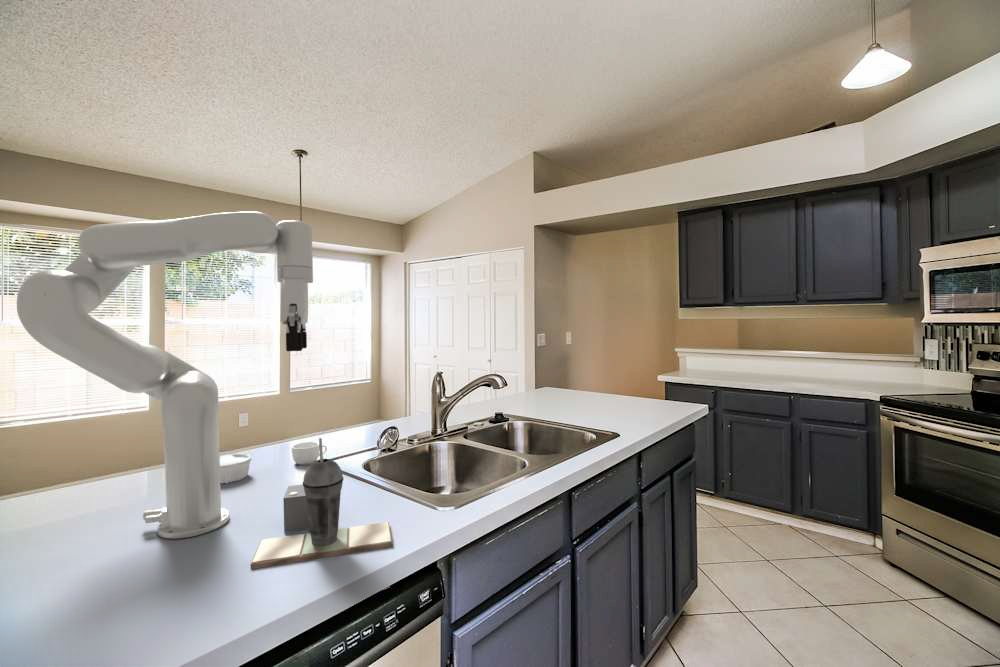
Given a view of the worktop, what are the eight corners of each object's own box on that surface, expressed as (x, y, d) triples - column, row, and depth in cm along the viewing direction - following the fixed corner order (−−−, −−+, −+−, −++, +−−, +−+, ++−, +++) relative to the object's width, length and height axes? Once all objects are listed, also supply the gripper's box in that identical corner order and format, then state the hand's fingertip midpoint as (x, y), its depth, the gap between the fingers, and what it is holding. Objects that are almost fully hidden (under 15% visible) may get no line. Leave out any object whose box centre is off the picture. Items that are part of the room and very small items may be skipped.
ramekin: (260, 473, 128) (260, 454, 127) (228, 487, 117) (227, 467, 117) (227, 470, 130) (227, 452, 130) (193, 484, 119) (192, 464, 119)
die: (284, 532, 92) (283, 497, 92) (289, 517, 98) (288, 485, 98) (321, 527, 94) (320, 493, 94) (323, 513, 101) (322, 481, 100)
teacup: (294, 468, 131) (294, 450, 131) (289, 461, 137) (289, 444, 137) (330, 462, 137) (329, 444, 137) (323, 455, 143) (323, 439, 143)
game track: (250, 568, 78) (250, 563, 78) (261, 544, 87) (261, 539, 87) (392, 546, 86) (392, 541, 86) (389, 525, 94) (388, 521, 94)
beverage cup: (349, 531, 90) (348, 431, 89) (337, 549, 83) (335, 441, 82) (312, 531, 90) (310, 432, 89) (297, 550, 82) (294, 442, 82)
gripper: (283, 278, 111) (285, 347, 112) (270, 271, 95) (272, 352, 95) (316, 279, 114) (317, 347, 114) (309, 272, 97) (310, 351, 98)
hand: (297, 349), depth 105 cm, fingers open, 9 cm apart
